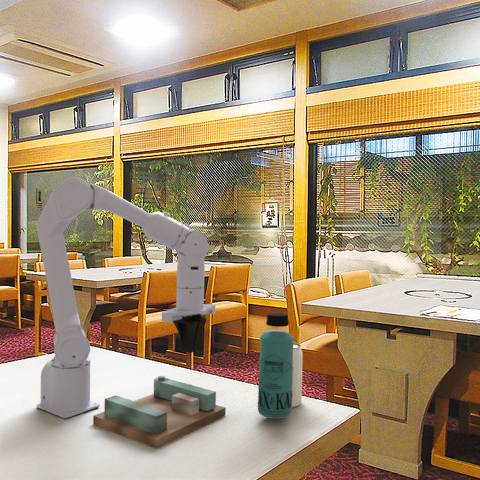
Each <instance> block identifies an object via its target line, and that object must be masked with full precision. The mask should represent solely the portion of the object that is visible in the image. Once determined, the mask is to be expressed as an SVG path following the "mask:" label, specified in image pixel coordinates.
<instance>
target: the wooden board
mask: <svg viewBox="0 0 480 480" xmlns="http://www.w3.org/2000/svg"><path fill="white" fill-rule="evenodd" d="M226 410H227V409H226V407H225V406H221V405H219V404H216V408H213V409H211V410H209V411H204V410H201V409H199V398H196V397H192V396H189V395H185V394H182V393H177V394H175V395H172V400H168V399H165V398H162V397H157V396H154V393H152V394H150V395H147V396H144V397H142V398H141V397H140V398H139V399H135V400H132V399H128V398H125V397H121V396H118V395H117V394H115V395H113V396H110V397H106V398H104V411H103V412H100V413H97V414H94V415H93V417H92V418H93V419H92V423H93V425H95V426H98V427H100V428H102V429H105V430H107V431H111V432H112V433H116V434H119V435H121V436H122V437H123V436H124V437H126V438H129V439H131V440H133V441H136V442H138V443H141V444H144V445H146V446H148V447H151V448H153V449H156V450H158V449H159V448H161V447H164V446H165V445H168V444H169V443H172V442H175V441H176V440H178V439H180V438H182V437H184V436H186V435H189V434H191V433H192V432H195V431H196V430H199V429H201V428H202V427H205V426H207V425H209V424H211V423H213V422H215V421H217V420H220V419H221V418H223V417H225V416H226Z"/></svg>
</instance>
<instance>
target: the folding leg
mask: <svg viewBox="0 0 480 480" xmlns="http://www.w3.org/2000/svg"><path fill="white" fill-rule="evenodd" d="M177 393H182V394H185V395H189V396H192V397H196V398H199V409H201V410H204V411H209V410H211V409H213V408H216V405H217V403H216V402H217V401H216V400H217V391H215V390H211V389H207V388H204V387H199V386H198V385H197V386H196V385H193V384H189V383H186V382H181V381H178V380H175V379H171V378H169V377H166V376H164V375H159V376H157V377H156V378H153V394H154V396H157V397H162V398H165V399H168V400H172V395H175V394H177Z"/></svg>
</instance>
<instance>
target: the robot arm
mask: <svg viewBox="0 0 480 480" xmlns="http://www.w3.org/2000/svg"><path fill="white" fill-rule="evenodd" d="M43 207H44V208H43V209H42V211H41V213H40V216H39V217H38V220H37V221H36V232H37V237H38V242H39V247H40V248H39V249H40V253H41V258H42V263H43V267H44V273H45V278H46V279H45V280H46V283H47V289H48V294H49V299H50V300H49V301H50V305H51V306H50V307H51V310H52V316H53V322H54V327H55V332H54V336H53V339H52V341H53V342H52V343H53V345H54V350H53V352H54V356H53V358H51V359H50V360H48V361H47V362H46V363H45V364H44V366H43V368H42V370H41V373H40V402H39V403H37V404H36V408H39V409H41V410H43V411H45V412H49V413H51V414H53V415H55V416H56V417H57V416H58V417H60V418H63V419H67V418H71V417H74V416H76V415H79V414H83V413H85V412H88V411H91V410H94V409H97V408H99V407H100V403H97V402H94V401H92V400H91V357H90V356H89V355H90V352H91V345H90V341H89V339H88V338H87V334H86V331H85V329H84V328H83V327H82V325H81V321H80V316H79V311H78V306H77V301H76V294H75V290H74V285H73V277H72V273H71V269H70V263H69V258H68V251H67V247H66V241H65V237H64V230H65V229H66V228H67V227H68V225H69V224H70V223H72V221H73V219H74V218H75V217H76V216H78V215H80V214H81V213H82V212H84V211H85V210H87V209H88V208H89V211H106V212H109V213H112V214H113V215H116V216H117V217H120V218H122V219H124V220H125V221H128V222H131V223H132V224H135V225H137V226H139V227H141V229H142V231H143V232H144V233H143V234H144V236H145V237H147V238H149V239H150V240H152V241H154V242H156V243H158V244H160V245H162V246H164V247H166V248H168V249H170V250H174V251H176V254H177V267H176V301H175V302H176V303H175V305H176V306H175V307H174V308H171V309H168V310H165V311H161V322H164V323H173V325H174V326H175V329H176V330H177V332H178V335H179V339H180V341H181V345H182V351H183V352H184V353H188V354H192V353H195V351H196V347H197V344H198V340H199V337H200V335H201V332H202V330H203V328H204V326H205V325H206V323H207V317H203V316H205V315H209V314H210V315H214V314H216V304H213V303H211V304H210V303H207V304H205V303H204V301H205V300H204V299H205V270H206V269H205V268H206V267H205V256H206V255H207V253H208V252H209V249H210V244H209V242H208V239H207V237H206V235H205V234H204V233H203V232H201V231H199V230H192V229H190V227H191V225H190V224H189V223H187V222H186V223H185V222H184V224H183V223H182V222H180V221H179V220H176V219H174V218H172V217H171V213H169V212H167V211H163V212H161V211H160V210H157V211H154V212H150V213H149V212H147V211H145V210H144V209H142V208H140V207H138V206H137V205H135V204H133V203H132V202H131V201H130V202H129V201H128V200H126V199H124V198H122V197H121V196H119V195H117V194H116V193H114V192H112V191H110V190H108V189H106V188H104V187H102V186H99V185H97V184H94V183H88V182H87V181H86V180H84V179H81V178H80V177H79V178H78V177H69V178H67V179H65V180H63V181H62V182H61V183H60V184H59V185H58V186H57V187H56V188H55V189H54V190H53V191H51V194H50V196H49V197H48V199H47V201H46V204H45V205H44V206H43Z"/></svg>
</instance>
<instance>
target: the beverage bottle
mask: <svg viewBox="0 0 480 480" xmlns="http://www.w3.org/2000/svg"><path fill="white" fill-rule="evenodd" d="M265 322H266V325H267V326H270V327H276V328H278V327H279V328H282V327H288V326H289V323H290V322H289V315H288V314H287V313H285V312H269V313H267V316H266V321H265ZM294 340H295V339H294V337H293V336H292V334H291V333H290V332H289V331H287V330H283V329H267V330H265V331H264V332H263V333H262V334H260V336H259V341H260V346H259V363H258V377H257V378H258V379H257V383H258V385H257V386H258V387H257V388H258V390H257V408H256V409H257V411H258V413H259V415H260V416H263V417H266V418H269V419H283V418H287V417H289V416H290V415H291V413H292V410H293V409H292V408H291V406H292V405H291V404H292V399H293V394H292V383H293V382H292V380H293V379H292V377H293V369H294V368H293V342H294Z"/></svg>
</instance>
